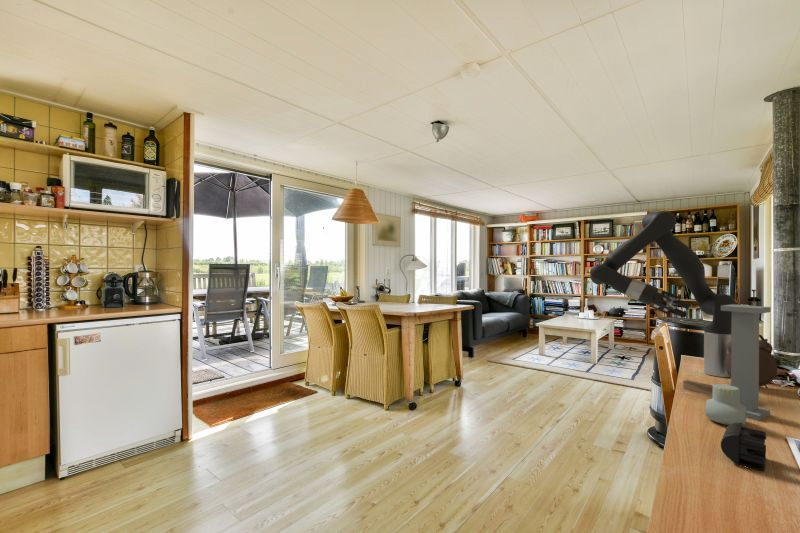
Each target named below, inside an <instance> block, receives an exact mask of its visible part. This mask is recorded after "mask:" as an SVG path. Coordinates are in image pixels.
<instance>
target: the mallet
mask: <svg viewBox="0 0 800 533" xmlns="http://www.w3.org/2000/svg"><path fill="white" fill-rule="evenodd" d="M682 384H683V386H682V387H683V388H682V390H685V391H688V392H689V391H690V392H694V393H698V394H701V393H702V395H705V394H706V396H710V397H713V385H714V384H713V385H712V384H709V383H704V382H699V381H694V380H689V379H686V380H683V383H682ZM729 385H730V386H731V384H729Z"/></svg>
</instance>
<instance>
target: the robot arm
mask: <svg viewBox="0 0 800 533" xmlns="http://www.w3.org/2000/svg"><path fill="white" fill-rule="evenodd" d="M676 224H677V218H676V216H675V215H674V214H673V213H672V212H671V211H667V210H660V211H652V212H648V213H646V214H645V215H644V216H643V218H642V220H641V225H642V228H643V229H642V230H641V231H640V232H638V233H637V234H636V235H634V236H633V237H630V238H628V239H627V240H626V241H624V242H623V243H621V244H619V245H618V246H617V247H615V249H613V250H612V251H611V252H610V253H609V254H608V255H607V256H606V257H605V259H604V261H603V262H602V263H599V264H598V263H597V264H595V265H593V266H592V267H591V268H590V271H589V274H590V275H589V276H590V277H589V278H590V280H591V282H593V283H594V284H595V285H604V284H606V285H608V286H609V287H611V289H613V290H614V291H616V292H619V293H621V294H623V295H625V296H627V297H629V298H630V299H633V300H635V301H638V302H640V303H642V304H644V305H647V306H651V304H653V306H652V309H655V310H656V311H659V312H661V313H663V314H665V315H667V316H671V315H676V316H677V317H681V318H683V319H685V318H686V316H687V315H688V312H686V311H683V310H682V309H685V310H689V309H690V307H691V304H692V303H689V302H686V301H684V300H682V299H680V296H679V295H677V294H674V293H672V292H671V293H670V292H669V291H666V290H662V291H660V292H659V288H658V287H655V286H654V285H651V284H648V283H646V282H644V281H641V280H638V279H635V278H632V277H630V276H627V275H626V274H625V275H624V274H622V273H620V272H619V269H621V268H623V266H625V265H627V263H628V262H629V261H630V260H632V259H633V258H635V256H636V255H637V254H639V252H641V251H642V250H643V249H645V248H646V247H648V246H650V245H651V244H652V243H656V245H658V247H659V249H660V250H661V251H662V253H663V254H664V256H665V257H666V258H667V260H668V261H669V262H670V263H669V264H671V266H672V267H673V268H674V270H675V271H676V273H677V274H678V275H679V277H680V278H681V279H682V281H683V282H684V284H685V285H686V287H687V288H688V290H689V291H690V292H691V294H692V296H693V297H694V299H695V302H696V303H697V305H698V307H699V309H701V311H702V312H703V313H704V314H706V315H709V316H712V320H711V322H710V323H706V324H704V327H703V373H704V374H706V375H709V376H714V377H721V378H731V376H730V375H729V374H728V373H727V371H726V369H725V358H726V355H727V354H728V349H727V344H728V343H729V342H730V341H731V325H732V311H721V306H722V305H732V304H733V305H738V304H737V301H736V300H735V298H734V297H733V296H732V295H729V294H725V293H724V294H723V293H715V292H714V291H713V289H711V287H710V286H709V284H708V283H707V281H706V271H705V270H706V268H705V265H704V263H703V262H702V260H701V259H700V257H699V256H698V255H697V254H696V252H694V250H693V249H692V248H691V247H689V246H688V245H686V244H685V242H682V241H681V240H680V239H679V238H678V237H677V236H676V235H675V234H674V233H673V232H672V230H673V229H674V227H675V226H676ZM674 305H677V306H678V307H681V308H682V309H679V308H676V307H675V306H674Z"/></svg>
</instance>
